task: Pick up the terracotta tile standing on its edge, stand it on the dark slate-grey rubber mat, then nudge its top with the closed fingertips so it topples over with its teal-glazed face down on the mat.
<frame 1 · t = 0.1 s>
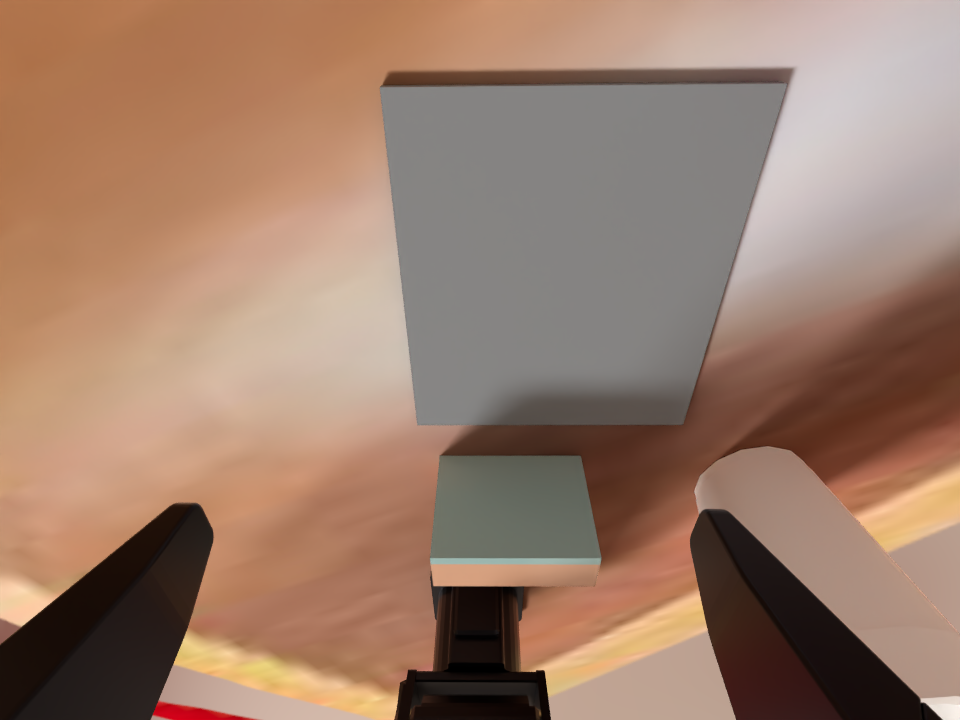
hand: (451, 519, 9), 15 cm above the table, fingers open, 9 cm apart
foam cup: (748, 481, 31), on the table
mat: (561, 286, 23), on the table
tile: (509, 469, 30), on the table
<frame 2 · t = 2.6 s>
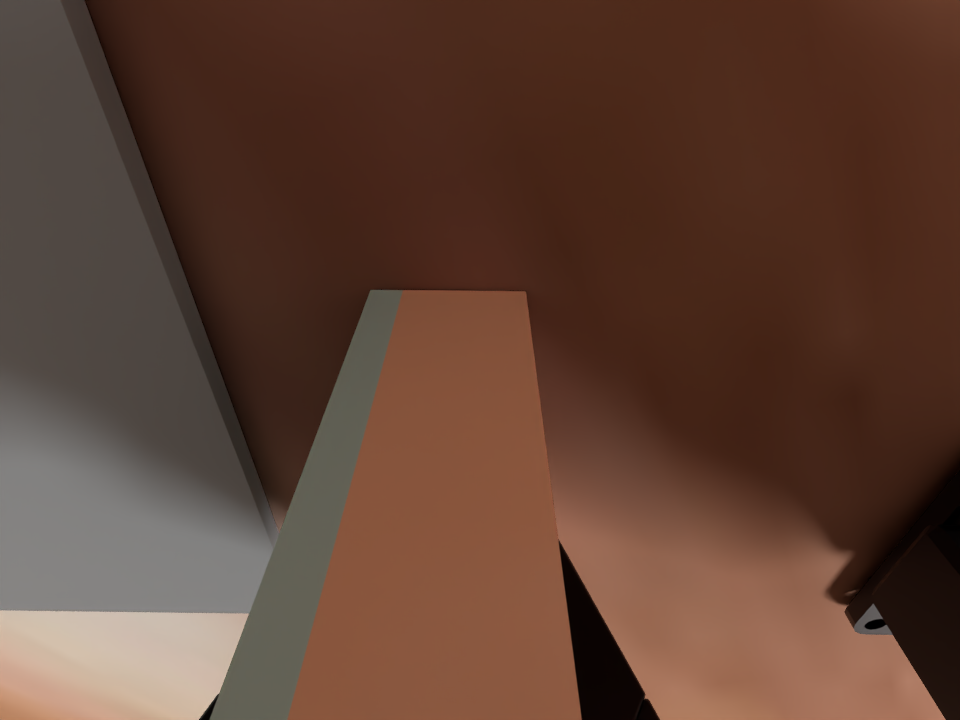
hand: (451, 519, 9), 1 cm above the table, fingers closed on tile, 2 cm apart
tile: (454, 467, 10), on the table, touching gripper
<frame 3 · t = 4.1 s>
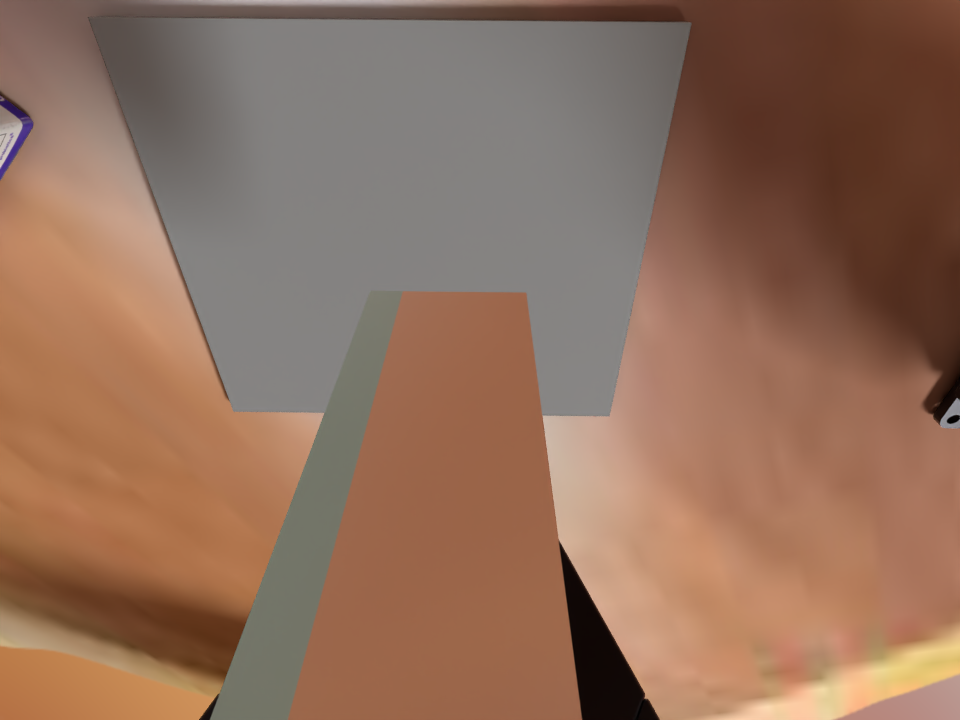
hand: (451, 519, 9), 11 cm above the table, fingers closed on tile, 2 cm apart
mat: (410, 257, 18), on the table
tile: (454, 468, 10), point 10 cm above the table, touching gripper
when the fingers open (2 cm above the table, at t = 5.8 s): tile stays where it is, resting on mat.
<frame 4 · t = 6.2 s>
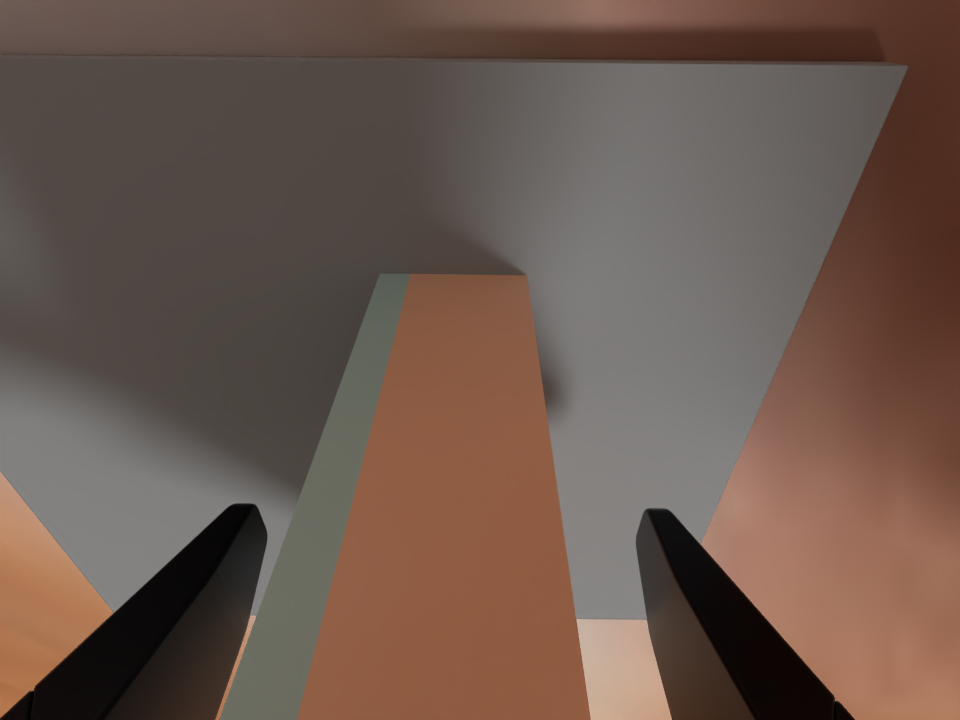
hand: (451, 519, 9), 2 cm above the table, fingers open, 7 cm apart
mat: (362, 432, 11), on the table
tile: (457, 447, 11), resting on mat
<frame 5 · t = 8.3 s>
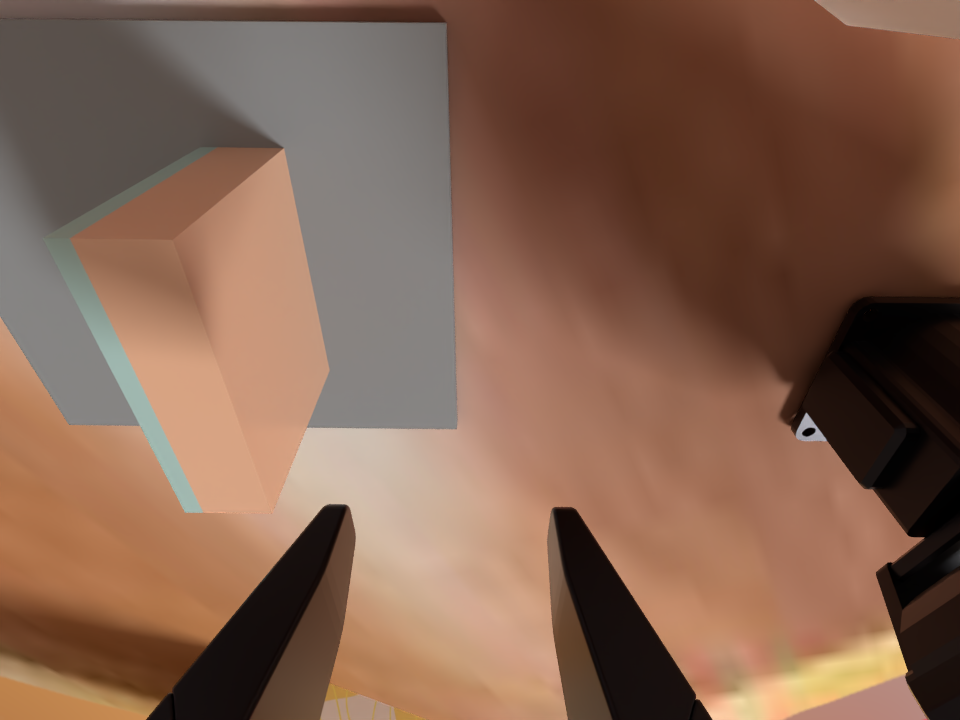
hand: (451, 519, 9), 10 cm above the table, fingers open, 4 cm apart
pasta box: (334, 716, 41), on the table
mat: (216, 267, 17), on the table
tile: (273, 274, 17), resting on mat
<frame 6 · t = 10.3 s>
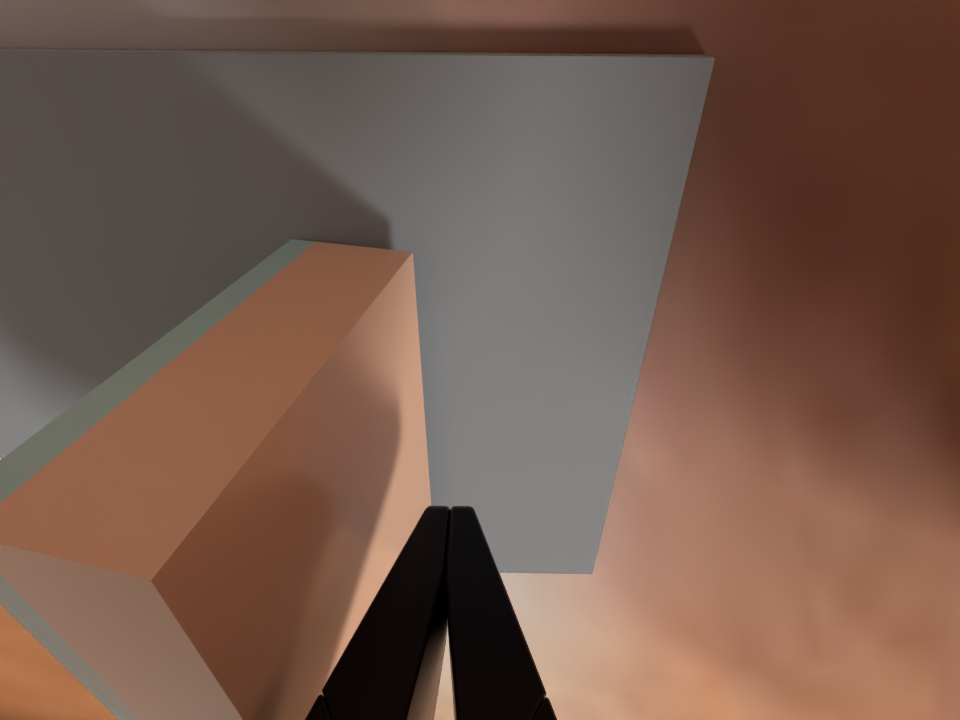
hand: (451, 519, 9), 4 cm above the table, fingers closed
mat: (294, 388, 12), on the table
tile: (374, 408, 12), point 1 cm above the table, tilted 12°, touching gripper, mat
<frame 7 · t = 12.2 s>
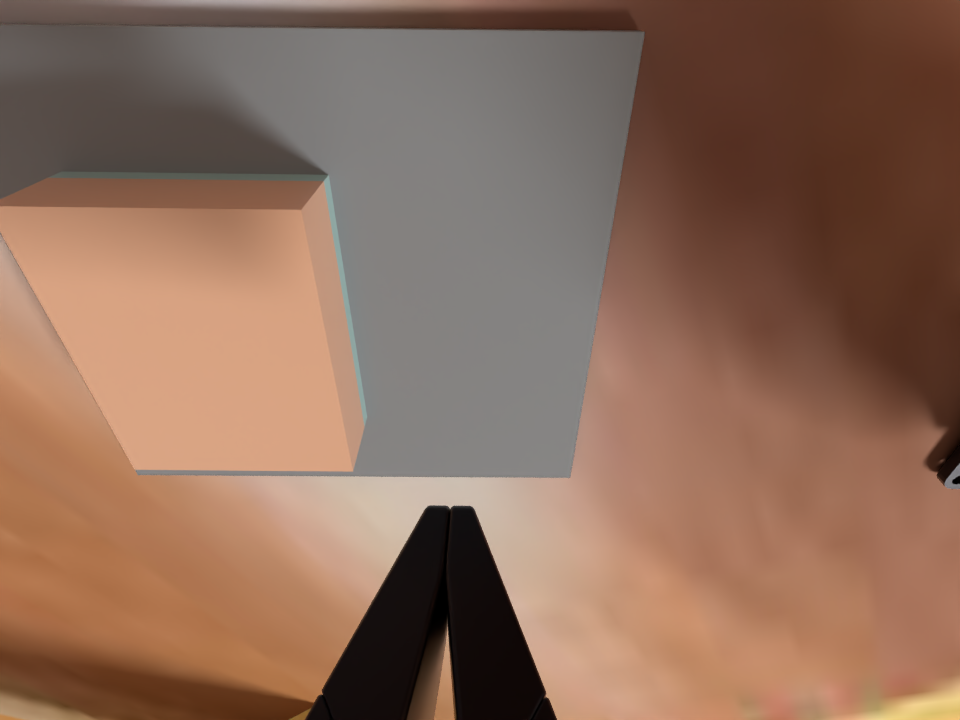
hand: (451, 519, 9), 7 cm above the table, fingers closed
mat: (325, 307, 15), on the table
tile: (342, 338, 14), point 2 cm above the table, tilted 90°, touching mat
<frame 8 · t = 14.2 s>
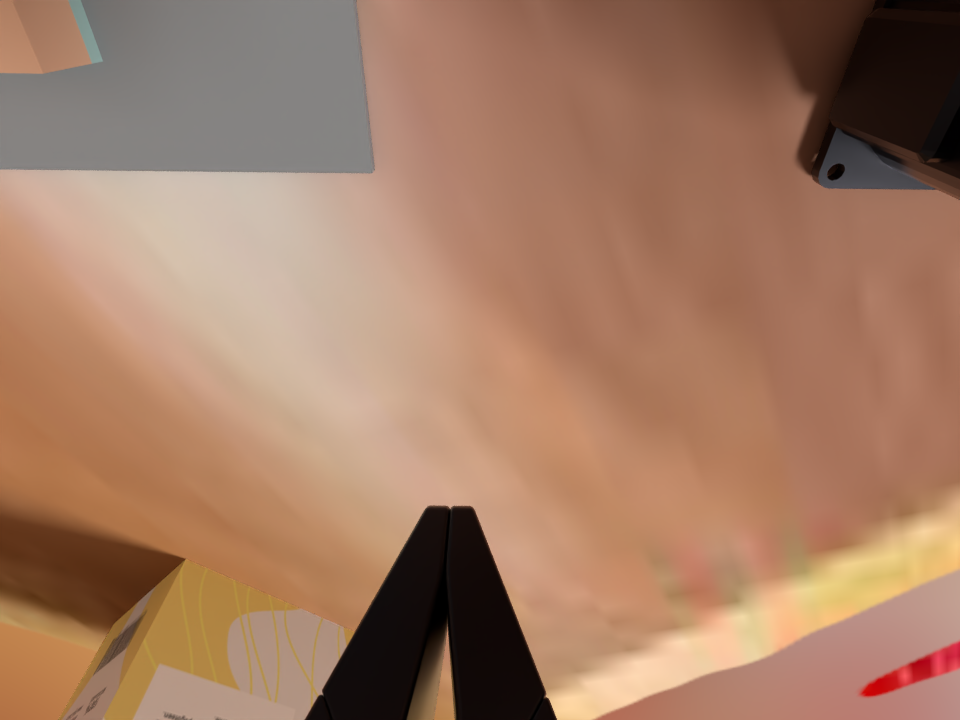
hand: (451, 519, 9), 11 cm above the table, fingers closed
pasta box: (277, 641, 36), on the table
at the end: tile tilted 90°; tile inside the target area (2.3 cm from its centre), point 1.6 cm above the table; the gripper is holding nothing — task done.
